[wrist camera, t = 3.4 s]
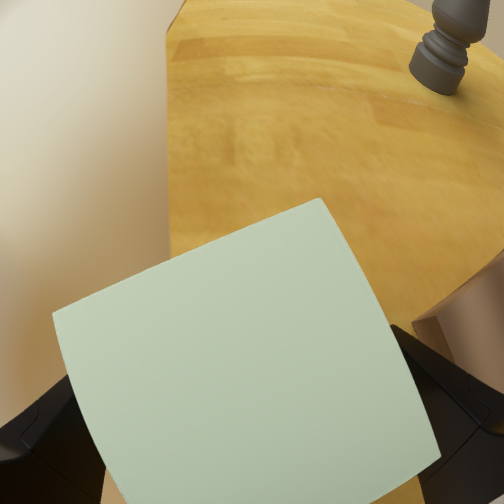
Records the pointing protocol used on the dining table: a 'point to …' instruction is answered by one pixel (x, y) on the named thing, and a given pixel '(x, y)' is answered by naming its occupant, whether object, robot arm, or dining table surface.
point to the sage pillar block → (248, 374)
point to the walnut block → (471, 325)
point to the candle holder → (449, 43)
